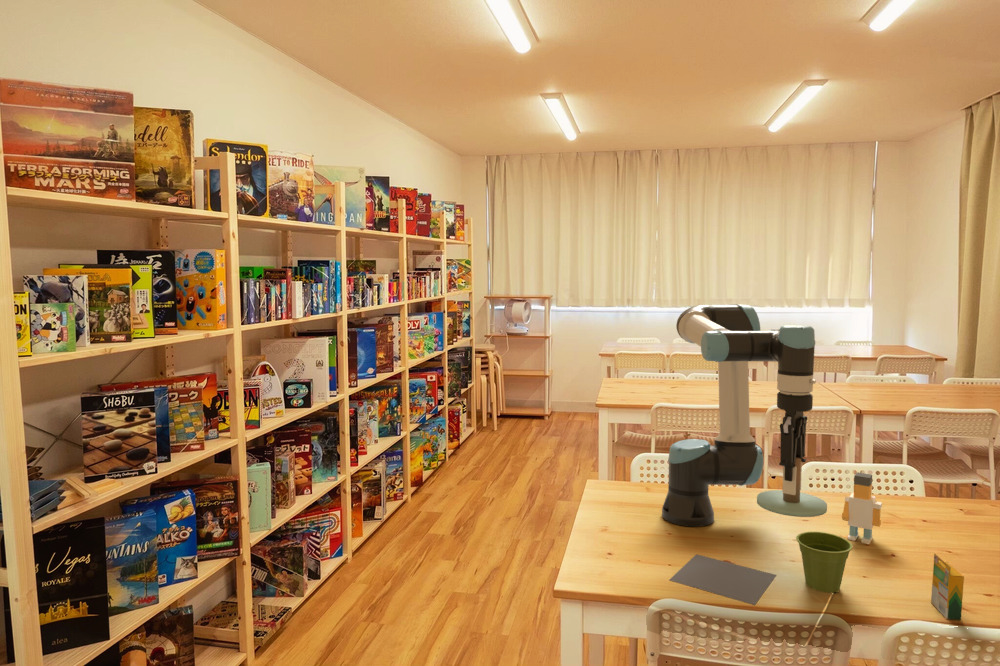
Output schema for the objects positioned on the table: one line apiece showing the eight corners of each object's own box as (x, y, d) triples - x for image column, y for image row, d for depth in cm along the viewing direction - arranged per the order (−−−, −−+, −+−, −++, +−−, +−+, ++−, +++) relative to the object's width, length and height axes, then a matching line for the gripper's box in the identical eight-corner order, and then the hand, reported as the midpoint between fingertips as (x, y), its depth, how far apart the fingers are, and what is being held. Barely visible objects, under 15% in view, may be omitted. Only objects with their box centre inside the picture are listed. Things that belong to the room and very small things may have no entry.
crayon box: (962, 620, 140) (965, 568, 139) (946, 619, 141) (949, 567, 140) (945, 603, 147) (948, 553, 146) (930, 602, 148) (933, 552, 147)
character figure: (884, 544, 179) (888, 479, 178) (845, 543, 180) (848, 479, 178) (870, 533, 187) (873, 471, 185) (832, 532, 188) (835, 470, 186)
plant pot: (786, 575, 161) (788, 531, 160) (835, 576, 161) (837, 531, 160) (807, 599, 150) (809, 551, 149) (860, 600, 149) (862, 552, 148)
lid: (747, 507, 153) (749, 460, 152) (768, 490, 165) (769, 447, 164) (817, 522, 144) (819, 471, 143) (833, 503, 155) (835, 457, 154)
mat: (668, 582, 158) (668, 580, 158) (696, 556, 172) (696, 554, 172) (754, 607, 146) (754, 604, 146) (776, 577, 160) (776, 574, 160)
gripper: (802, 399, 143) (798, 504, 145) (821, 389, 156) (818, 485, 158) (766, 395, 148) (763, 497, 150) (788, 386, 161) (785, 479, 163)
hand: (791, 491), depth 154 cm, fingers closed on lid, 3 cm apart
